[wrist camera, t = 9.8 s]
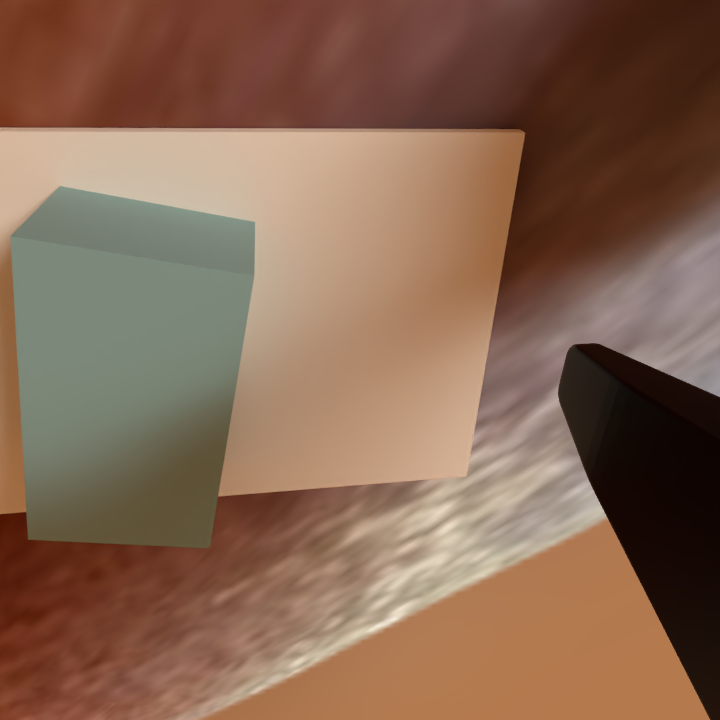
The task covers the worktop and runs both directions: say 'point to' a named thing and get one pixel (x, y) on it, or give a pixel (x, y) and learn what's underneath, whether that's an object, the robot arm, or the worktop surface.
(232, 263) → the grey-green block
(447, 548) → the worktop surface
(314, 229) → the mat
